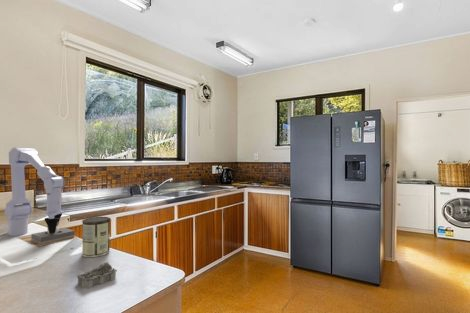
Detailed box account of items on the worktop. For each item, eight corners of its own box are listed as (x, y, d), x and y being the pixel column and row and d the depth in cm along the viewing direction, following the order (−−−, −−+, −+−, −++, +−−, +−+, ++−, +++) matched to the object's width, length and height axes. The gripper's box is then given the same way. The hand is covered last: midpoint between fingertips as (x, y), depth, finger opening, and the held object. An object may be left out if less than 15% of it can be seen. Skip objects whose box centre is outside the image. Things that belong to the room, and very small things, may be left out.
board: (16, 239, 128) (16, 237, 128) (55, 231, 142) (56, 229, 142) (38, 249, 115) (38, 247, 115) (79, 239, 129) (79, 237, 129)
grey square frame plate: (40, 244, 118) (41, 237, 118) (31, 240, 123) (31, 233, 123) (74, 237, 130) (74, 230, 130) (64, 233, 135) (64, 227, 135)
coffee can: (92, 248, 117) (92, 216, 117) (114, 249, 116) (115, 216, 116) (75, 256, 107) (76, 221, 107) (100, 258, 106) (100, 222, 106)
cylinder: (46, 238, 124) (46, 224, 124) (48, 235, 127) (48, 222, 128) (57, 237, 126) (58, 223, 126) (59, 234, 129) (59, 221, 130)
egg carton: (109, 273, 93) (109, 261, 93) (118, 279, 88) (119, 267, 88) (74, 283, 85) (75, 270, 85) (83, 291, 80) (83, 277, 80)
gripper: (62, 204, 122) (61, 234, 122) (65, 199, 135) (65, 226, 135) (43, 205, 119) (42, 235, 119) (48, 200, 132) (48, 228, 132)
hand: (53, 231), depth 127 cm, fingers open, 7 cm apart
